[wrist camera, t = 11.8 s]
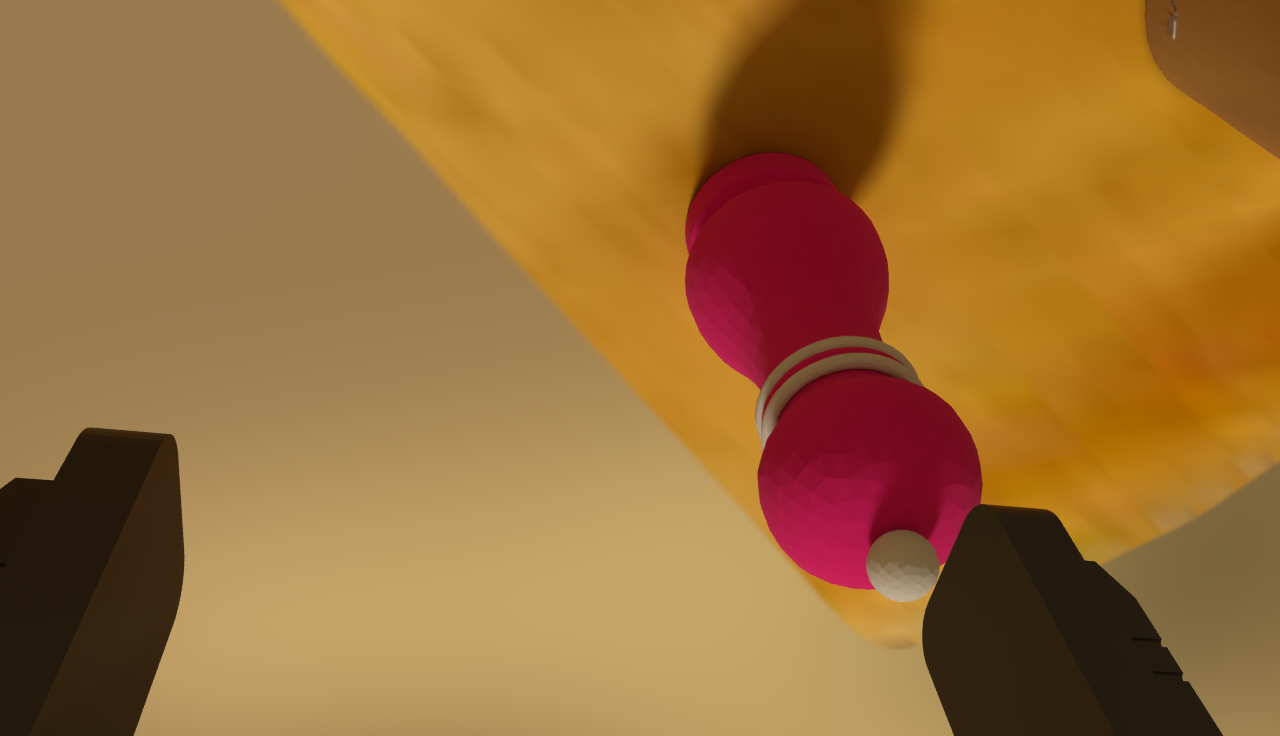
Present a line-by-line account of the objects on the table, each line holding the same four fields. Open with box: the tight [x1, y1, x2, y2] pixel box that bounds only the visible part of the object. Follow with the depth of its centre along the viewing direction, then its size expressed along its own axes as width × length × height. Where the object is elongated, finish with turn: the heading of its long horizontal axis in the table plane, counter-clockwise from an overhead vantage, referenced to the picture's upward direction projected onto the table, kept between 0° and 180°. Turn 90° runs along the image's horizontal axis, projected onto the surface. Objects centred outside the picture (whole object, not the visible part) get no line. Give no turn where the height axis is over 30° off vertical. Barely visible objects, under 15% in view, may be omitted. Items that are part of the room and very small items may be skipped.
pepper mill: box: [685, 152, 983, 602], centre depth 35 cm, size 7×7×20 cm
